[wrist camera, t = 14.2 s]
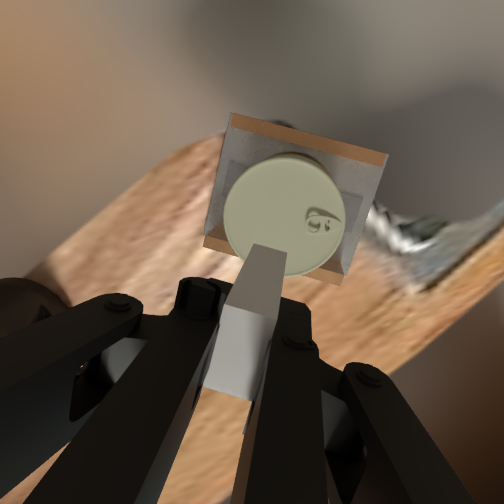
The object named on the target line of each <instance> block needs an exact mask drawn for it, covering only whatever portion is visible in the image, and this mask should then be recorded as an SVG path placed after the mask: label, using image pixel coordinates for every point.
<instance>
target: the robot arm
mask: <svg viewBox="0 0 504 504" xmlns="http://www.w3.org/2000/svg"><path fill="white" fill-rule="evenodd" d="M286 259H287V252H283V251H280V250H276V249H273V248H269V247H266V246H262V245H259V244H255V243H254V244H253V246H252V248H251V250H250V252H249V254H248V256H247V258H246V260H245V262H244V264H243V266H242V268H241V270H240V272H239V274H238V276H237V279H236V281H235V283H234V284H231V283H228V282H224V281H221V280H217V279H214V278H209V279H205V278H200V277H188V278H183V279H182V280H180V281H179V286H178V291H177V295H176V300H175V305H174V308H173V309H172V310H171V312H170V313H169V314H168V315H164V316H159V315H148V314H143V304H142V303H141V301H139V300H138V299H136V298H134V297H132V296H128V295H127V294H121V293H112V294H104V295H100V296H97V297H95V298H92V299H90V300H88V301H85V302H83V303H81V304H78V305H76V306H74V307H71V308H69V309H68V308H67V306H66V305H65V304H64V303H63V301H62V300H61V299H60V298H59V297H58V296H57V295H55V294H54V293H53V292H52V291H50V290H49V289H47V288H46V287H44V286H42V285H40V284H38V283H36V282H33V281H30V280H27V279H22V278H3V279H0V499H1V498H2V497H3V496H5V495H6V494H7V493H8V492H9V491H11V490H12V489H13V488H14V487H15V486H17V485H18V484H19V483H20V482H22V481H23V480H24V479H25V478H26V477H28V476H29V475H30V474H31V473H32V472H34V471H35V470H36V469H37V468H38V467H40V466H41V465H42V464H43V463H44V462H46V461H47V460H48V459H49V458H50V457H52V456H53V455H54V454H55V453H56V452H58V451H59V450H60V449H61V448H62V447H64V446H65V445H66V444H67V443H69V442H70V443H69V444H68V445H67V447H66V448H65V449H64V451H63V452H62V453H61V454H60V456H59V457H58V458H57V460H56V461H55V462H54V463H53V465H52V466H51V467H50V469H49V470H48V471H47V473H46V474H45V475H44V476H43V478H42V479H41V480H40V482H39V483H38V484H37V486H36V487H35V488H34V489H33V491H32V492H31V493H30V495H29V496H28V497H27V498H26V500H25V501H24V502H23V504H157V502H158V499H159V497H160V494H161V492H162V489H163V487H164V484H165V482H166V479H167V477H168V474H169V472H170V469H171V467H172V464H173V462H174V459H175V457H176V454H177V452H178V450H179V447H180V445H181V442H182V440H183V437H184V435H185V432H186V430H187V427H188V425H189V422H190V420H191V417H192V415H193V412H194V410H195V407H196V405H197V402H198V400H199V397H200V393H201V389H202V386H203V387H206V388H209V389H213V390H216V391H219V392H223V393H226V394H229V395H232V396H236V397H239V398H242V399H246V400H249V401H252V404H251V407H250V411H249V414H248V417H247V420H246V424H245V427H244V430H243V434H244V439H243V443H242V448H241V453H240V458H239V463H238V467H237V472H236V477H235V482H234V487H233V491H232V496H231V501H230V504H328V498H329V502H330V504H476V502H475V501H474V499H473V498H472V497H471V495H470V494H469V492H468V491H467V489H466V488H465V486H464V485H463V483H462V482H461V480H460V479H459V478H458V476H457V475H456V473H455V472H454V470H453V469H452V467H451V466H450V464H449V463H448V462H447V460H446V459H445V457H444V456H443V454H442V453H441V451H440V450H439V448H438V447H437V445H436V444H435V443H434V441H433V440H432V438H431V437H430V435H429V434H428V432H427V431H426V430H425V428H424V427H423V425H422V424H421V422H420V421H419V419H418V418H417V416H416V415H415V414H414V412H413V410H412V409H411V407H410V406H409V405H408V403H407V402H406V400H405V399H404V397H403V396H402V394H401V393H400V392H399V390H398V389H397V387H396V386H395V384H394V383H393V381H392V380H391V379H390V378H389V377H388V376H387V375H386V374H384V373H383V372H382V371H380V370H379V369H378V368H376V367H373V366H372V365H369V364H364V363H360V362H351V363H348V364H346V366H345V368H344V370H343V372H342V371H340V370H338V369H336V368H334V367H332V366H330V365H329V364H327V363H325V362H324V361H323V360H321V359H320V358H319V349H318V347H317V344H316V343H315V342H314V341H313V340H312V328H311V311H310V310H309V308H308V307H307V306H306V304H304V303H301V302H297V301H294V300H290V299H287V298H284V297H281V292H282V285H283V278H284V272H285V265H286ZM82 365H83V367H81V366H82ZM80 367H81V368H80ZM203 382H204V384H203Z"/></svg>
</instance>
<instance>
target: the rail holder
mask: <svg viewBox="0 0 504 504" xmlns="http://www.w3.org/2000/svg"><path fill="white" fill-rule="evenodd" d="M287 151H294V152H301V153H304V154H307V155H310V156H312V157H313V158H315V159H317V160H318V161H319V162H321V163H322V164H323V165H324V166H325V168H326V169H327V170H328V172H329V173H330V175H331V177H332V179H333V181H334V182H335V184H336V185H337V187H338V189H339V191H340V193H341V195H342V198H343V201H344V205H345V212H346V224H345V230H344V233H343V237H342V239H341V242H340V244H339V246H338V247H337V249H336V251H335V252H334V253H333V255H332V256H331V257H330V258H329V259H328V260H327V261H326V262H325V263H324V264H323V265H321V266H320V267H318V268H317V269H315V270H313V271H311V272H309V273H306V274H303V276H306V277H310V278H313V279H317V280H320V281H324V282H327V283H331V284H334V285H338V286H341V283H342V280H343V277H344V275H345V276H346V275H347V272H348V270H349V267H350V264H351V261H352V258H353V255H354V253H355V250H356V247H357V244H358V241H359V238H360V236H361V233H362V230H363V227H364V224H365V221H366V218H367V216H368V213H369V210H370V207H371V204H372V201H373V199H374V196H375V193H376V190H377V187H378V184H379V182H380V179H381V176H382V173H383V170H384V167H385V164H386V162H387V159H388V156H389V155H388V154H386V153H382V152H378V151H375V150H370V149H367V148H363V147H359V146H356V145H352V144H348V143H345V142H341V141H337V140H333V139H330V138H326V137H322V136H318V135H315V134H311V133H307V132H303V131H300V130H296V129H292V128H288V127H285V126H281V125H277V124H273V123H269V122H266V121H262V120H258V119H254V118H251V117H247V116H243V115H239V114H236V113H232V112H231V114H230V118H229V123H228V127H227V131H226V136H225V140H224V145H223V149H222V153H221V158H220V162H219V167H218V171H217V176H216V180H215V185H214V189H213V194H212V198H211V203H210V207H209V212H208V216H207V220H206V225H205V229H204V234H203V235H205V239H204V243H203V247H206V248H209V249H212V250H216V251H219V252H223V253H226V254H230V255H233V256H237V257H238V255H237V254H236V253H235V252H234V250H233V249H232V247H231V245H230V243H229V241H228V239H227V236H226V233H225V228H224V220H223V213H224V205H225V201H226V198H227V195H228V193H229V191H230V189H231V187H232V185H233V184H234V182H235V181H236V180H237V178H238V177H239V176H240V175H241V174H242V173H243V172H244V171H246V170H247V169H248V168H250V167H251V166H253V165H254V164H256V163H258V162H261V161H263V160H265V159H266V158H268V157H270V156H272V155H274V154H277V153H281V152H287Z"/></svg>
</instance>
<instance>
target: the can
mask: <svg viewBox="0 0 504 504" xmlns="http://www.w3.org/2000/svg"><path fill="white" fill-rule="evenodd" d="M223 220H224V228H225V233H226V236H227V239H228V241H229V243H230V245H231V247H232V249H233V250H234V252H235V253H236V254H237V255H238V257H239V258H240V259H241V260H242V261H243V262H245V260H246V258H247V256H248V254H249V252H250V250H251V248H252V246H253V244H254V243H255V244H259V245H262V246H266V247H269V248H273V249H276V250H280V251H283V252H287V259H286V265H285V272H284V277H295V276H300V275H303V274H306V273H309V272H311V271H313V270H315V269H317V268H318V267H320V266H321V265H323V264H324V263H325V262H326V261H327V260H328V259H329V258H330V257H331V256H332V255H333V253H334V252H335V251H336V249H337V247H338V246H339V244H340V242H341V239H342V237H343V233H344V230H345V224H346V212H345V205H344V201H343V198H342V195H341V193H340V191H339V189H338V187H337V185H336V184H335V182H334V181H333V179H332V177H331V175H330V173H329V172H328V170H327V169H326V168H325V166H324V165H323V164H322V163H321V162H319V161H318V160H317V159H315V158H313V157H312V156H310V155H307V154H304V153H301V152H294V151H287V152H281V153H277V154H274V155H272V156H270V157H268V158H266V159H265V160H263V161H261V162H258V163H256V164H254V165H253V166H251V167H250V168H248V169H247V170H246V171H244V172H243V173H242V174H241V175H240V176H239V177H238V178H237V180H236V181H235V182H234V184H233V185H232V187H231V189H230V191H229V193H228V195H227V198H226V201H225V205H224V213H223Z"/></svg>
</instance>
